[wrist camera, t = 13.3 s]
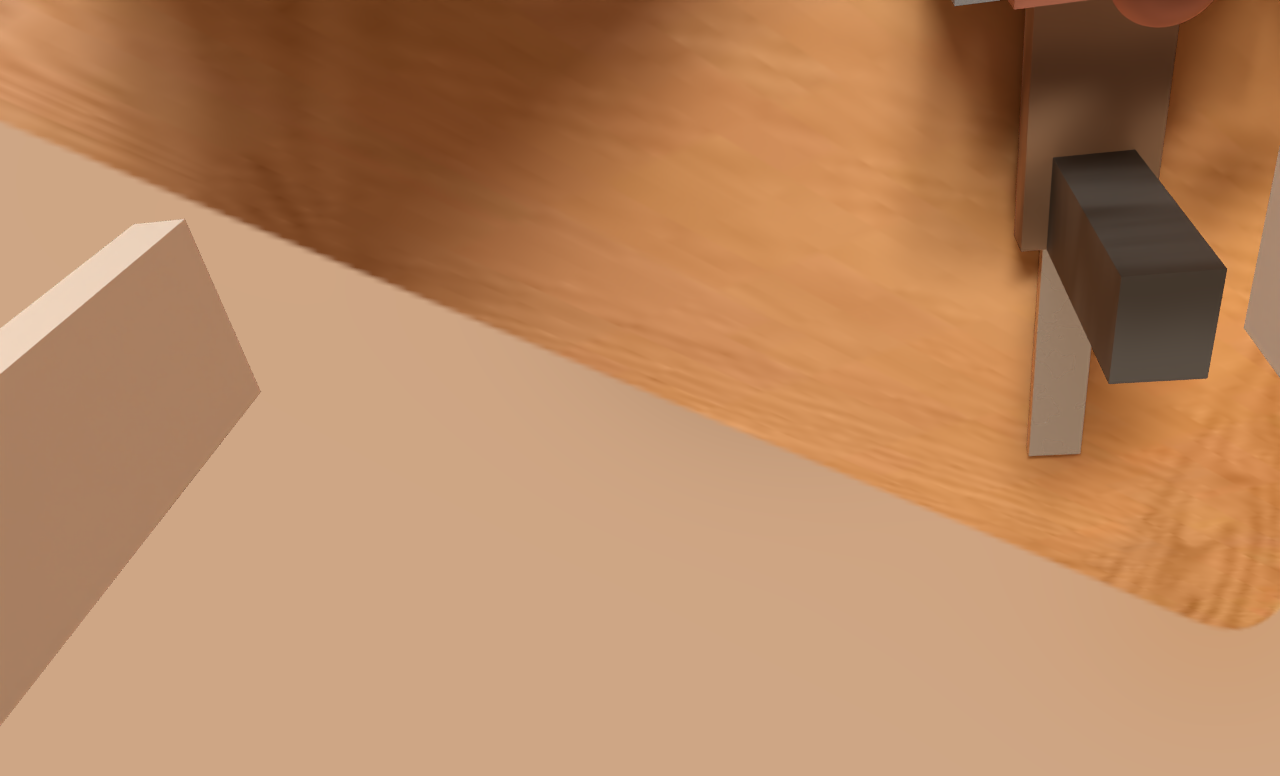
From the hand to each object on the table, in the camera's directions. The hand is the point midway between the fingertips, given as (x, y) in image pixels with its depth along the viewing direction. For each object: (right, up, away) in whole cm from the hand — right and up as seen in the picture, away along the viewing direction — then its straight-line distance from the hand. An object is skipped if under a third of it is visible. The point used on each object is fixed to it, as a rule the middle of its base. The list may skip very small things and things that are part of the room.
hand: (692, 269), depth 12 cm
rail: (+19, +3, +33) cm, 38 cm away
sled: (+17, +11, +26) cm, 33 cm away
